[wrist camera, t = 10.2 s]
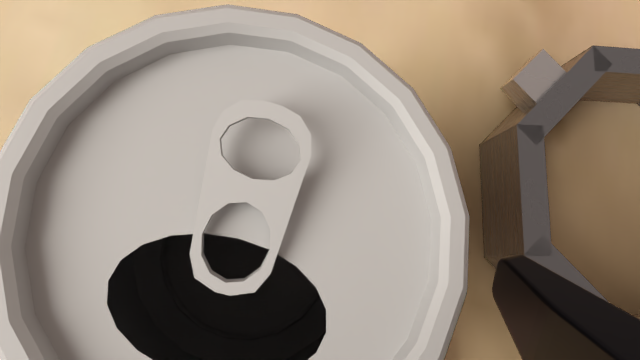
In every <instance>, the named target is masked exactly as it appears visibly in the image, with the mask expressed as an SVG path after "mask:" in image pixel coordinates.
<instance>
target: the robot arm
mask: <svg viewBox="0 0 640 360" xmlns="http://www.w3.org/2000/svg"><path fill="white" fill-rule="evenodd" d="M492 292H493V297H494V300H495V302H496V304H497V306H498V308H499V310H500V313H501V315H502V317H503V319H504V321H505V323H506V325H507V328H508V330H509V332H510V334H511V336H512V338H513V340H514V343H515V345H516V347H517V349H518V351H519V353H520V355H521V358H522V360H640V319H638V318H636V317H634V316H632V315H631V314H629V313H627V312H625V311H623V310H622V309H620V308H618V307H616V306H614V305H613V304H611V303H609V302H607V301H605V300H604V299H602V298H600V297H598V296H596V295H595V294H593V293H591V292H589V291H587V290H586V289H584V288H582V287H580V286H578V285H577V284H575V283H573V282H571V281H569V280H568V279H566V278H564V277H562V276H560V275H559V274H557V273H555V272H553V271H551V270H550V269H548V268H546V267H544V266H542V265H541V264H539V263H537V262H535V261H533V260H532V259H530V258H528V257H526V256H524V255H521V254H515V255H511V256H506V257H502V258H500V259H499V261H498V263H497V267H496V272H495V277H494V282H493V287H492Z"/></svg>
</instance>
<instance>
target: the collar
mask: <svg viewBox="0 0 640 360" xmlns="http://www.w3.org/2000/svg"><path fill="white" fill-rule="evenodd" d="M500 89H501V90H502V91H503V92H504V93H505V95H506V96H507V97H508V98H509V99H510V100H511V101H512V102H513V103H514V104H515V105H516V106H517V107H516V108H515V109H514V110H513V111H512V112H511V113H510V114H509V115H508V116H507V117H506V118H505V119H504V120H503V121H502V123H501V124H500V125H499V126H498V127H497V128H496V129H495V130H494V131H493V132H492V133H491V134H490V135H489V136H488V137H487V138H486V139H485V140H484V141H483V142H482V143H481V144H480V145H479V149H480V172H481V194H482V216H483V238H484V258H486V259H487V260H488V261H489V262H490V263H491V265H492V266H493V267H494V268H495V269H496V267H497V263H498V261H499V259H500V258H502V257H506V256H511V255H515V254H521V255H524V256H526V257H528V258H530V259H532V260H533V261H535V262H537V263H539V264H541V265H542V266H544V267H546V268H548V269H550V270H551V271H553V272H555V273H557V274H559V275H560V276H562V277H564V278H566V279H568V280H569V281H571V282H573V283H575V284H577V285H578V286H580V287H582V288H584V289H586V290H587V291H589V292H591V293H593V294H595V295H596V296H598V297H600V298H602V299H604V300H605V301H607V300H606V299H605V298H604V297H603V296H602V295H601V294H600V293H599V292H598V291H597V290H596V289H595V288H594V287H593V286H592V285H591V284H590V283H589V282H588V280H587V279H586V278H585V277H584V276H583V275H582V274H581V273H580V272H579V271H578V270H577V269H576V268H575V267H574V266H573V265H572V264H571V263H570V262H569V261H568V260H567V259H566V258H565V257H564V256H563V255H562V254H561V253H560V252H559V251H558V250H557V249H556V248H555V247H554V246H553V245H552V244H551V233H550V218H549V203H548V189H547V174H546V159H545V145H544V137H545V136H546V135H547V134H548V133H549V132H550V131H551V130H552V128H553V127H554V126H555V125H556V124H557V123H558V122H559V121H560V120H561V119H562V118H563V117H564V116H565V115H566V114H567V113H568V111H569V110H570V109H571V108H572V107H573V106H574V105H575V104H576V103H577V102H578V101H579V100H591V101H608V102H625V103H637V104H638V105H639V106H640V49H631V48H618V47H604V46H594V45H593V46H591V47H590V48H588V49H587V50H585V51H584V52H582V53H581V54H579V55H578V56H576V57H575V58H573V59H571V60H570V61H568V62H567V63H565V64H564V65H562V66H560V65H559V64H558V63H557V62H556V61H555V60H554V59H553V58H552V57H551V56H550V55H549V54H548V53H547V52H546V51H545V50H544V49H542V50H541V51H540V52H539V53H537V54H536V55H535V56H533V57H532V58H531V59H529V60H528V61H527V62H526V63H525V64H524V65H523V66H522V67H521V68H520V69H519V70H518V71H517V72H516V73H515V74H514V75H513V76H512V77H511V78H510V79H509V80H508V81H507V82H506V83H505V84H504V85H503V86H502V87H501V88H500ZM607 302H608V301H607ZM632 316H634V317H636V318H638V319H640V315H632Z"/></svg>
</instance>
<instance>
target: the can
mask: <svg viewBox="0 0 640 360" xmlns="http://www.w3.org/2000/svg"><path fill="white" fill-rule="evenodd" d="M468 249H469V213H468V209H467V205H466V202H465V198H464V194H463V191H462V187H461V183H460V180H459V176H458V173H457V169H456V165H455V162H454V158H453V154H452V151H451V147H450V146H449V144H448V143H447V141H446V140H445V138H444V136H443V135H442V133H441V132H440V130H439V128H438V127H437V125H436V124H435V122H434V120H433V119H432V117H431V116H430V114H429V113H428V111H427V109H426V108H425V106H424V105H423V103H422V101H421V100H420V98H419V97H418V95H417V94H416V92H415V90H414V89H413V88H412V87H411V86H410V85H409V84H407V83H406V82H405V81H404V80H403V79H402V78H401V77H399V76H398V75H397V74H396V73H395V72H394V71H392V70H391V69H390V68H389V67H388V66H387V65H386V64H384V63H383V62H382V61H381V60H380V59H379V58H378V57H376V56H375V55H374V54H373V53H372V52H371V51H370V50H368V49H367V48H366V47H365V46H364V45H363V44H361V43H359V42H357V41H355V40H353V39H351V38H348V37H346V36H344V35H342V34H340V33H338V32H335V31H333V30H331V29H329V28H327V27H324V26H322V25H320V24H318V23H316V22H313V21H311V20H309V19H307V18H305V17H302V16H300V15H298V14H291V13H284V12H277V11H270V10H263V9H256V8H249V7H241V6H234V5H221V6H214V7H207V8H201V9H194V10H188V11H181V12H174V13H168V14H161V15H155V16H153V17H151V18H149V19H146V20H144V21H142V22H140V23H138V24H136V25H134V26H132V27H129V28H127V29H125V30H123V31H121V32H119V33H117V34H115V35H113V36H110V37H108V38H106V39H104V40H102V41H100V42H98V43H96V44H93V45H91V46H89V47H87V48H86V49H85V50H84V51H83V52H82V53H81V54H79V55H78V56H77V57H76V58H75V59H74V60H73V61H72V62H71V63H70V64H68V65H67V66H66V67H65V68H64V69H63V70H62V71H61V72H60V73H59V74H58V75H56V76H55V77H54V78H53V79H52V80H51V81H50V82H49V83H48V84H47V85H45V86H44V87H43V88H42V89H41V90H40V91H39V92H38V93H37V94H36V95H35V96H33V97H32V98H31V99H30V100H29V102H28V104H27V106H26V107H25V109H24V111H23V113H22V114H21V116H20V118H19V119H18V121H17V123H16V125H15V126H14V128H13V130H12V132H11V133H10V135H9V137H8V139H7V140H6V142H5V144H4V146H3V147H2V149H1V151H0V359H1V360H444V359H445V356H446V353H447V350H448V347H449V344H450V341H451V338H452V335H453V332H454V329H455V326H456V324H457V321H458V318H459V315H460V312H461V309H462V306H463V303H464V300H465V297H466V294H467V284H468Z"/></svg>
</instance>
